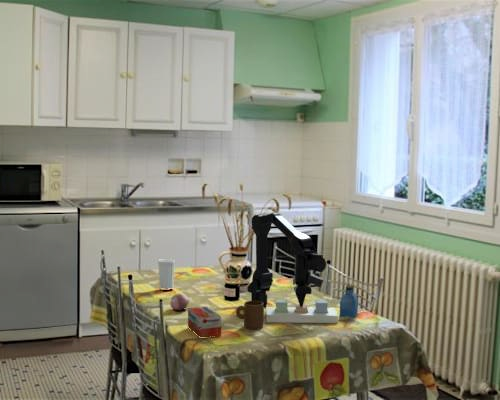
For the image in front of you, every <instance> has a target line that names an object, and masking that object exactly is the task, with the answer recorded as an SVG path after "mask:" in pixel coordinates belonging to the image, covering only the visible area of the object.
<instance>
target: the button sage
mask: <svg viewBox="0 0 500 400" xmlns="http://www.w3.org/2000/svg"><path fill="white" fill-rule="evenodd" d="M275 307H276V312H287V307H288V299H275Z"/></svg>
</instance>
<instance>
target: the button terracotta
mask: <svg viewBox="0 0 500 400" xmlns="http://www.w3.org/2000/svg"><path fill="white" fill-rule="evenodd" d="M295 307H296V311H295V313H307V307H308V305H307V304H303V306H300V305H299V304H295Z"/></svg>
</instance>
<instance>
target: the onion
mask: <svg viewBox="0 0 500 400" xmlns="http://www.w3.org/2000/svg"><path fill="white" fill-rule="evenodd" d="M169 304H170V307H171V309H172V308H173V309H175V310H180V311H184V310H183V309H184V308H187V307H188V305H189V304H190V301H189V298H188V297H187V296H186V295H185V294H182V293H176V294H174V295H173V296H172V297H171V298H170V303H169ZM173 309H172V310H173ZM175 310H174V311H175Z"/></svg>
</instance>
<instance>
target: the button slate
mask: <svg viewBox="0 0 500 400" xmlns="http://www.w3.org/2000/svg"><path fill="white" fill-rule="evenodd" d="M314 301H315V304H314V305H315V306H314V307H315V311H316V313H327V308H328V306H329V305H328V301H327V299H326V300H325V299H324V300H323V299H321V300H320V299H319V300H318V299H317V300H314Z"/></svg>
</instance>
